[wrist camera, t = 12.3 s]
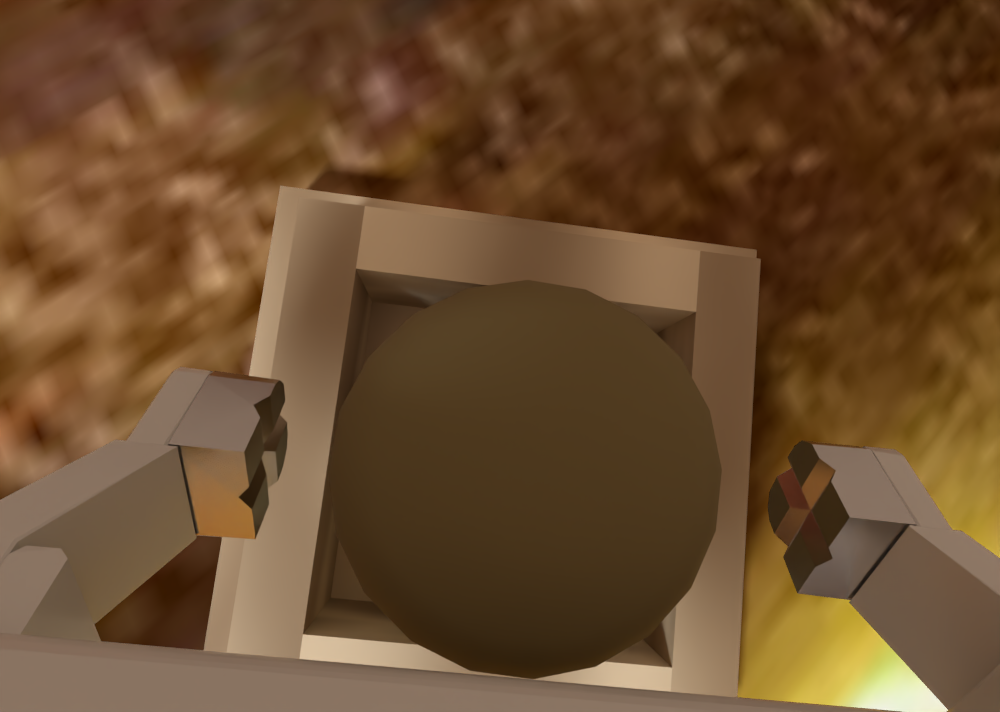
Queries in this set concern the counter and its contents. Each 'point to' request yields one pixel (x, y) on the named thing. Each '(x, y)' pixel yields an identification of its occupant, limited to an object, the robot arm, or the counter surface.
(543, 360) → the cork
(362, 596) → the shaker holder
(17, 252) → the counter surface
